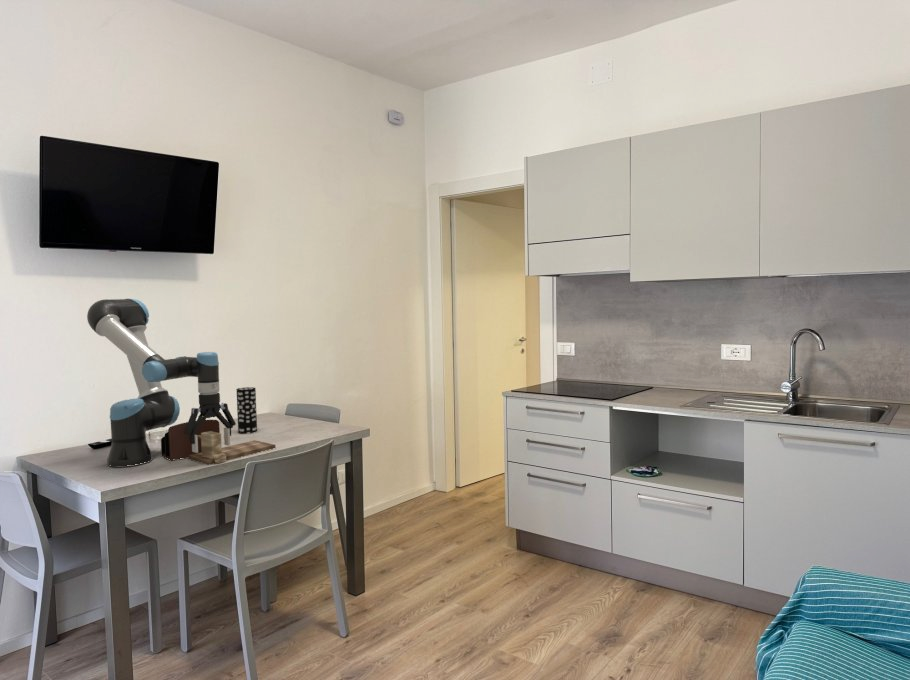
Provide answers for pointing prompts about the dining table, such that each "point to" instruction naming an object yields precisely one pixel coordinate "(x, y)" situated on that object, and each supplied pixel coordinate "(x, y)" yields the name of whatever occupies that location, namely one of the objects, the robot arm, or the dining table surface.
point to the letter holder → (184, 439)
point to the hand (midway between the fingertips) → (211, 448)
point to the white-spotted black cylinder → (246, 410)
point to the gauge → (212, 446)
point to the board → (236, 451)
